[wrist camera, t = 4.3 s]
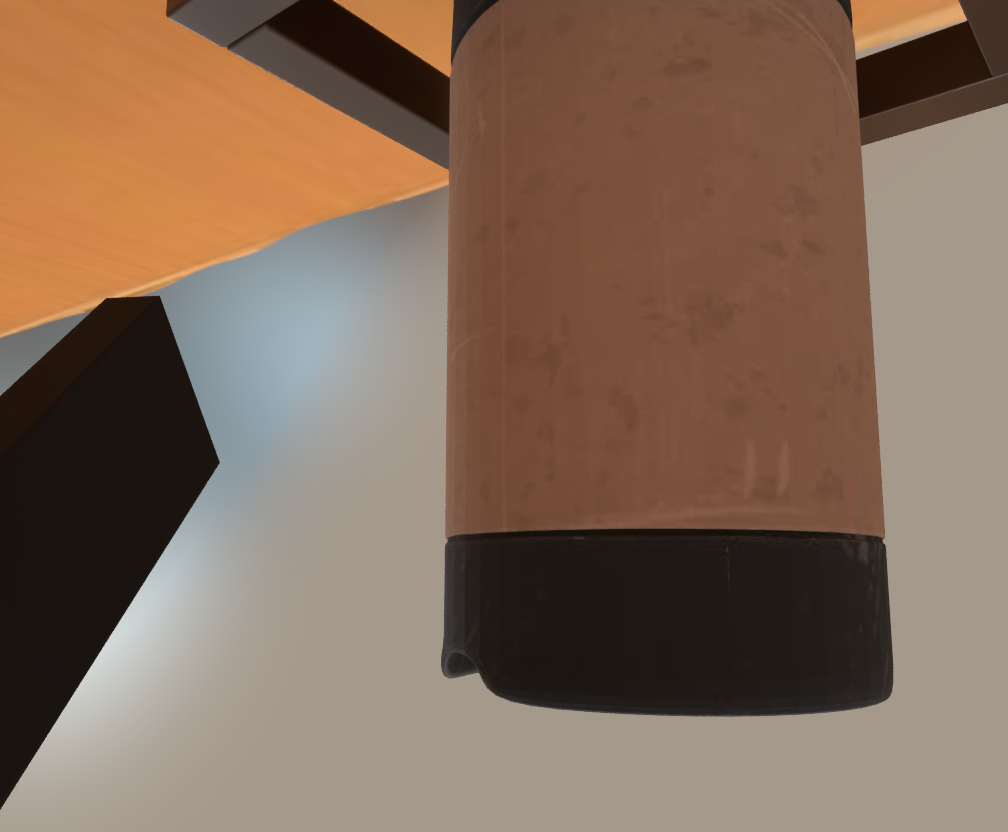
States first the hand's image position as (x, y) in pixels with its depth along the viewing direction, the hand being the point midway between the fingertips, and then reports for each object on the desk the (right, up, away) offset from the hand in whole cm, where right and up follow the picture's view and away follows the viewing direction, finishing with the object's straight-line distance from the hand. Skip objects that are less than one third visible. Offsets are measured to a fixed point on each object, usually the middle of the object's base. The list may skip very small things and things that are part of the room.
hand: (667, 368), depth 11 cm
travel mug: (+1, +15, +8) cm, 17 cm away
